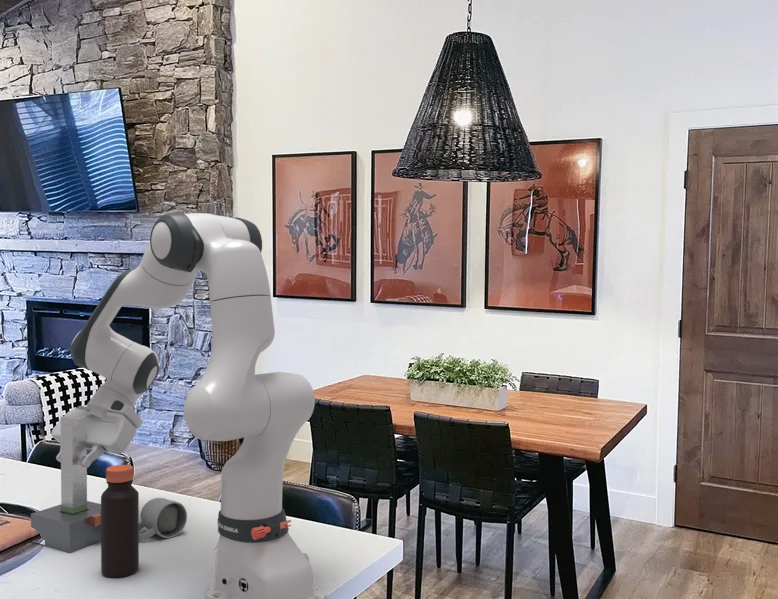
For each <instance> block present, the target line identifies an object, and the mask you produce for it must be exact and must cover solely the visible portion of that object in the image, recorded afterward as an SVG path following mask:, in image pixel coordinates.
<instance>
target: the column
mask: <svg viewBox="0 0 778 599" xmlns="http://www.w3.org/2000/svg"><path fill="white" fill-rule="evenodd" d="M60 420H61V443H60V448H61V462H60V491H61V492H60V498H61V500H60V502H61V503H60V504H61V513H65V514H69V515H75V514H78V513H81V512H84V511H87V501H88V472H87V470H88V468H87V467H83V466H81V465H80V464H79V461H80V460H81V458H82V457H83V456H86V455H88V451H87V450H88V448H87V443H86V439H87V418H86V417H80V416H73V415H67V416H65V415H64V416H60Z"/></svg>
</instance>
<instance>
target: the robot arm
mask: <svg viewBox="0 0 778 599" xmlns="http://www.w3.org/2000/svg"><path fill="white" fill-rule="evenodd" d="M149 236H150V238H149V243H148V245H147V247H146V249H145V251H144V253H143V256H142V258H141V261H140V263H139V265H138V266H137V267H136V268H135V269H133V270H132V269H131V270H124V271H123V272H122V273H120V274H119V275H118V276H117V277H116V278H115V279H114V281H112V283H111V284H110V286H109V287H108V289H106V291H105V293H104V295H103V296H102V297H101V299H100V300H99V302H98V304H97V305H96V307H95V309H94V310H93V311H92V313H91V315H90V316H89V318H88V319H87V321H86V322H85V324H84V326H83V327H82V328H81V329H80V330H79V331H78V332H77V334H76V335H75V337H74V338H73V340H72V342H71V343H70V344H71V345H70V347H69V352H70V355H71V359H72V361H73V362H74V364H75V365H76V366H78V367H80V368H83V369H86V370H87V371H91V372H94V373H95V374H97V375H99V376H101V377H103V378H105V379H106V380H105V381H104V382H103V383H102V385H100V386H99V387H98V389H97V390H96V392H95V393H94V395H93V396H92V397H91V398H90V400H89V401H88V402H87V404H86V405H78V406H77V407H75V408H72V409H71V410H69V411H67V413H65V414H64V416H67V415H73V416H80V417H86V418H87V439H86V443H87V450H88V449H90V450H91V451H90V452H88V453H87V455H86V456H83V457H82V458H81V460H80V461H79V464H80V465H81V466H83V467H87V469H88V468H89V467H90V466H91V464H92V463H93V462H95V460H97V459H99V458H100V457H101V456H102V455H103V454H104V453H110V454H117V455H120V454H121V453H123V452H125V451H126V449H127V448H128V447H129V445H130V444H131V442H133V439H134V437H135V436H136V434H137V429H139V428H140V427H141V426H143V423H144V421H143V419H142V418H141V416H139V414H138V413H137V412H136V411H135V410H134V408H135V407H136V403H137V401H138V399H139V398H141V397H142V396H143V395H144V394H145V393H146V392H148V390H149V389H150V387H151V386H152V384H153V383H154V381H155V380H156V378H157V376H158V374H159V370H160V366H159V365H160V360H159V359H160V358H159V356H158V355H157V354H156V352H155V351H154V350H153V349H151V348H150V347H148V346H146V345H142V344H140V343H138V342H135V341H133V340H131V339H129V338H127V337H126V336H123V335H122V334H119V333H117V332H116V331H114V330H113V329H112V327H111V326H110V325H111V324H112V322H113V321H114V319H115V317H116V316H117V315H118V313H119V311H120V310H121V308H122V307H124V306H137V307H142V308H148V309H151V310H152V309H153V310H154V309H155V310H160V309H167V308H171V307H174V306H176V305H178V304H179V303H181V302H182V301H183V300H184V299H185V298H186V296H187V295H188V293H189V291H190V289H191V287H192V285H193V283H194V281H195V278H196V276H197V273H198V272H199V271H200V272H202V273H204V275H205V276H206V277H207V282H208V293H209V294H208V295H209V304H210V306H209V307H210V317H211V331H212V333H211V334H212V335H211V336H212V345H211V346H212V347H211V352H210V358H209V360H208V364H207V366H206V369H205V371H204V373H203V375H202V377H201V378H200V379H199V381H197V382H196V384H194V386H193V387H192V388H191V389H190V391H189V392H188V394H187V395H186V398H185V400H184V405H183V417H184V422H185V425H186V427H187V428H188V430H189V432H190V434H192V435H193V436H194V437H195V438H196V439H198V440H202V441H212V442H214V441H215V442H228V441H233V440H238V439H243V441H242V443H241V445H240V447H239V449H238V450H237V451H236V452H235V454H233V456H232V457H230V458H229V459H228V460H227V461H226V462H225V464H224V465H223V467H222V469H221V472H220V509H219V511H218V516H217V532H218V533H219V538H218V542H217V544H216V547H215V549H214V551H213V554H212V566H211V575H210V587H209V590H207V591H206V593H205V596H204V599H328V594H327V592H326V591H325V590H323V589H322V588H320V587H319V585H317V584H315V583H314V573H313V568H312V564H311V563H310V557H309V555H308V553H306V552H302V550H301V549H300V548H299V546H298V545H297V543H296V542H295V541H294V539H293V537H292V536H291V535H290V533H289V527H291V526H292V525H291V524H289V523H291V522H292V519H288V520H287V515H286V512H285V509H284V508H283V484H284V483H283V481H284V471H285V465H286V460H287V456H288V454H289V451H290V448H291V447H292V443H293V442H294V440H295V438H296V436H297V434H298V433H299V431H300V429H302V427H303V426H304V424H306V423H307V422H308V420H310V418H311V417H312V415H313V413H314V409H315V404H316V398H315V392H314V389H313V387H312V385H311V383H310V382H309V381H308V379H307V378H306V377H305V376H304V375H302V374H298V373H293V372H292V373H290V372H283V371H276V372H267V373H259V374H257V373H256V365H257V361H258V359H259V356H260V354H261V353H262V352H264V351H265V350H266V349H268V348H269V347H270V345H272V343H273V341H274V338H275V334H276V332H275V330H276V329H275V323H274V314H273V304H272V296H271V288H270V281H269V277H268V273H267V269H266V265H265V261H264V258H263V255H262V251H263V239H262V234H261V231H260V229H259V227H258V226H257V225H256V224H255V223H254V222H252V221H250V220H247V219H244V218H240V217H230V216H224V215H218V214H213V213H205V212H202V213H201V212H193V213H191V212H190V213H183V212H181V211H180V212H171V213H168V214H167V213H166V214H163V215H161V216H159V217H158V218H157V220H156V221H155V223H154V224H153V226H152V228H151V231H150V235H149ZM50 434H51V435H50V436H52V438H54V440H56V442H57V443H58V444H61V419H59V421H58V422H57V423H56V425H55V426H54V427H52V430H51V433H50ZM55 459H56V461H58V462H59V463H61V447H60V448H59V452H58V454H57V455H56V457H55Z"/></svg>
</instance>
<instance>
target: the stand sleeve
mask: <svg viewBox="0 0 778 599" xmlns="http://www.w3.org/2000/svg"><path fill="white" fill-rule="evenodd" d="M31 527H32V528H34V529H36V531H38V533H39V534H40V536H41V537H42V538H44V540H45V546H44V547H47V548H51V549H54V550H58V551H61V552H65V553H68V554H71V553H73V552H76V551H79V550H81V549H85V548H86V547H89V546H92V545H94V544H96V543H99V542H100V543H101V503H98V502H94V501H89V500H87V511H84V512H81V513H78V514H75V515H69V514H65V513H61V503H60V504H57V505H54V506H51V507H48V508H46V509H42V510H39V511H35V512H32V513H30V528H31Z"/></svg>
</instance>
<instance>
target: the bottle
mask: <svg viewBox="0 0 778 599" xmlns="http://www.w3.org/2000/svg"><path fill="white" fill-rule="evenodd" d="M105 480H106V482H105V483H106V484H107V488H106V489H105V490H104V491H103V492H102V493H101V496H100V504H101V541H100V554H101V555H100V559H101V560H100V565H101V566H100V567H101V568H100V570H101V573H102V574H101V575H103V576H105V577H107V578H112V579H113V578H117V579H118V578H125V577H128V576H131V575H133V574H135V573H136V572H137V571H138V570H139V567H140V566H139V565H140V564H139V563H140V557H139V556H140V555H139V553H140V552H139V550H140V549H139V548H140V545H139V542H140V541H139V534H140V531H139V523H140V522H139V519H140V518H139V517H140V516H139V505H140V504H139V500H140V499H139V497H140V496H139V495H140V494H139V492H138V490H137V489H136V488H135V487H134V486H133V483H132V482H134V466H132V465H130V464H129V465H128V464H118V465H111V466H108V467H107V468H106V469H105Z"/></svg>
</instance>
